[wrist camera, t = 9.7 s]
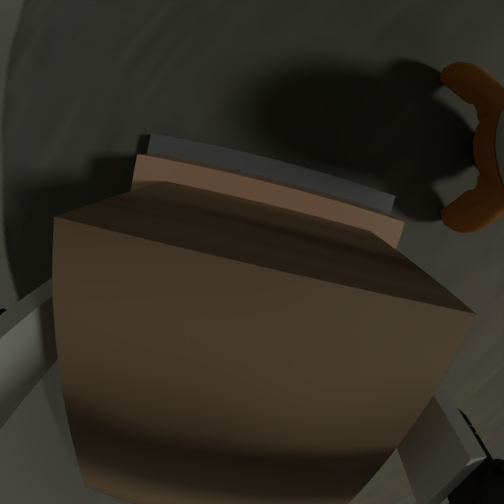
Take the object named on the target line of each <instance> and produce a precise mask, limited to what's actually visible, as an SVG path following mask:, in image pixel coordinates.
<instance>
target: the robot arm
mask: <svg viewBox="0 0 504 504" xmlns="http://www.w3.org/2000/svg"><path fill="white" fill-rule="evenodd" d="M57 359H58V357H57V348H56V337H55V325H54V310H53V281H52V278H51V279H49V280H48V281H47V282H45V283H44V284H42V285H41V286H39V287H38V288H37V289H35V290H34V291H32V292H31V293H30V294H28V295H27V296H25V297H24V298H23V299H21V300H20V301H18V302H17V303H16V304H15V305H13V306H12V307H10V308H9V309H8V310H6V309H1V310H0V429H1V428H2V426H3V425H4V424H5V423H6V421H7V420H8V419H9V417H10V416H11V415H12V414H13V412H14V411H15V410H16V409H17V407H18V406H19V405H20V403H21V402H22V401H23V400H24V398H25V397H26V396H27V395H28V393H29V392H30V391H31V390H32V389H33V387H34V386H35V385H36V384H37V383H38V381H39V380H40V379H41V378H42V377H43V375H44V374H45V373H46V372H47V371H48V370H49V368H50V367H51V366H52V365H53V364H54V362H55V361H56V360H57ZM476 433H477V432H476V431H475V429H474V427H472V424H471V423H470V421H469V420H468V418H467V416H466V415H465V414H464V413H463V412H461V411H460V410H459V409H458V408H457V407H456V405H455V404H454V402H453V401H452V399H451V398H450V396H449V395H448V393H447V392H446V390H445V389H444V387H443V386H442V384H441V383H440V385H439V386H438V388H437V389H436V391H435V393H434V394H433V396H432V398H431V399H430V401H429V402H428V404H427V405H426V407H425V408H424V410H423V411H422V413H421V414H420V416H419V417H418V419H417V420H416V422H415V423H414V425H413V426H412V427H411V429H410V430H409V432H408V433H407V434H406V436H405V437H404V438H403V440H402V441H401V442H400V444H399V445H398V446H397V449H398V452H399V455H400V457H401V460H402V463H403V465H404V468H405V471H406V473H407V476H408V479H409V482H410V484H411V487H412V490H413V493H414V496H415V498H416V501H417V504H440V503H441V502H442V501H443V500H444V499H445V498H446V497H448V500H449V502H450V503H449V504H504V460H502V459H494V460H493V459H492V457H491V455H490V454H489V452H488V450H487V449H486V447H485V445H484V444H483V442H482V440H481V439H480V437H479V436H478V434H476Z"/></svg>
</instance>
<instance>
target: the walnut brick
mask: <svg viewBox="0 0 504 504" xmlns="http://www.w3.org/2000/svg"><path fill="white" fill-rule="evenodd" d="M52 281H53V310H54V325H55V337H56V348H57V357H58V365H59V372H60V379H61V385H62V392H63V397H64V403H65V408H66V413H67V418H68V423H69V427H70V432H71V436H72V440H73V444H74V448H75V452H76V456H77V459H78V463H79V466H80V470H81V473H82V477H83V480H84V483H85V486H86V487H88V488H90V489H93V490H95V491H98V492H101V493H103V494H106V495H109V496H112V497H114V498H117V499H120V500H123V501H126V502H129V503H132V504H348V503H349V502H350V501H351V500H352V499H353V498H354V497H355V496H356V495H357V494H358V493H359V492H360V491H361V490H362V488H363V487H364V486H365V485H366V484H367V483H368V482H369V481H370V479H371V478H372V477H373V476H374V475H375V474H376V472H377V471H378V470H379V469H380V468H381V467H382V465H383V464H384V463H385V462H386V460H387V459H388V458H389V457H390V455H391V454H392V453H393V452H394V450H395V449H396V448H397V446H398V445H399V444H400V442H401V441H402V440H403V438H404V437H405V436H406V434H407V433H408V432H409V430H410V429H411V427H412V426H413V425H414V423H415V422H416V420H417V419H418V417H419V416H420V414H421V413H422V411H423V410H424V408H425V407H426V405H427V404H428V402H429V401H430V399H431V398H432V396H433V394H434V393H435V391H436V389H437V388H438V386H439V385H440V383H441V381H442V379H443V378H444V376H445V374H446V373H447V371H448V369H449V367H450V365H451V364H452V362H453V360H454V358H455V356H456V354H457V353H458V351H459V349H460V347H461V345H462V343H463V341H464V339H465V337H466V335H467V333H468V331H469V329H470V327H471V325H472V322H473V320H474V318H475V316H476V313H474V312H473V311H472V310H471V309H470V308H469V307H467V306H466V305H465V304H464V303H463V302H462V301H460V300H459V299H458V298H457V297H456V296H454V295H453V294H452V293H451V292H449V291H448V290H447V289H446V288H445V287H443V286H442V285H441V284H440V283H438V282H437V281H436V280H435V279H433V278H432V277H431V276H430V275H428V274H427V273H426V272H425V271H423V270H422V269H421V268H419V267H418V266H417V265H416V264H414V263H413V262H412V261H410V260H409V259H408V258H406V257H405V256H404V255H402V254H401V253H400V252H398V251H397V250H396V249H394V248H393V247H392V246H390V245H389V244H388V243H386V242H385V241H384V240H382V239H381V238H380V237H378V236H377V235H375V234H374V233H373V232H371V231H369V230H365V229H362V228H358V227H354V226H351V225H347V224H344V223H340V222H336V221H332V220H329V219H325V218H321V217H317V216H314V215H310V214H306V213H302V212H298V211H294V210H290V209H286V208H282V207H278V206H274V205H270V204H266V203H262V202H258V201H253V200H249V199H245V198H241V197H236V196H232V195H228V194H223V193H219V192H214V191H210V190H205V189H201V188H196V187H191V186H187V185H182V184H177V183H172V182H167V181H164V182H160V183H157V184H153V185H150V186H146V187H143V188H140V189H136V190H133V191H130V192H126V193H123V194H120V195H116V196H113V197H110V198H107V199H104V200H101V201H98V202H95V203H92V204H89V205H86V206H83V207H80V208H77V209H74V210H71V211H68V212H65V213H63V214H60V215H57V216H54V229H53V257H52Z"/></svg>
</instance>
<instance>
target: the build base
mask: <svg viewBox="0 0 504 504" xmlns="http://www.w3.org/2000/svg"><path fill="white" fill-rule="evenodd" d="M164 181H167V182H172V183H177V184H182V185H187V186H191V187H196V188H201V189H205V190H210V191H214V192H219V193H223V194H228V195H232V196H236V197H241V198H245V199H249V200H253V201H258V202H262V203H266V204H270V205H274V206H278V207H282V208H286V209H290V210H294V211H298V212H302V213H306V214H310V215H314V216H317V217H321V218H325V219H329V220H332V221H336V222H340V223H344V224H347V225H351V226H354V227H358V228H362V229H365V230H369V231H371V232H373V233H374V234H375V235H377V236H378V237H380V238H381V239H382V240H384V241H385V242H386V243H388V244H389V245H390V246H392V247H393V248H394V249H396V248H397V245H398V242H399V239H400V236H401V233H402V230H403V226H404V223H405V222H403V221H401V220H399V219H397V218H395V217H393V216H391V215H390V213H391V210H392V207H393V203H394V200H395V196H394V195H391V194H388V193H385V192H382V191H379V190H376V189H373V188H370V187H367V186H364V185H361V184H358V183H355V182H352V181H349V180H345V179H342V178H339V177H336V176H332V175H329V174H325V173H322V172H319V171H315V170H312V169H308V168H305V167H301V166H297V165H294V164H290V163H286V162H282V161H278V160H275V159H271V158H267V157H263V156H259V155H255V154H250V153H246V152H242V151H238V150H233V149H229V148H224V147H220V146H215V145H210V144H206V143H201V142H196V141H191V140H186V139H180V138H175V137H169V136H164V135H158V134H152V133H151V136H150V141H149V145H148V150H147V154H137V159H136V164H135V169H134V175H133V180H132V186H131V191H133V190H136V189H140V188H143V187H146V186H150V185H153V184H157V183H160V182H164Z"/></svg>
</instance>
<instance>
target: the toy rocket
mask: <svg viewBox="0 0 504 504" xmlns="http://www.w3.org/2000/svg"><path fill="white" fill-rule="evenodd" d="M440 82H441V83H442V84H444V85H445V86H447V87H448V88H449V89H451V90H452V91H453V92H454V93H455V94H457V95H458V96H459V97H460V98H461V99H462V100H464V101H465V102H467V103H469V104H473V105H474V106H475V108H476V111H477V118H478V120H479V122H480V123H479V124H478V126H477V128H476V131H475V132H474V133H473V135H472V137H471V139H470V144H469V152H470V157H471V160H472V162H473V164H474V165H475V167H476V168H477V169H478V171H479V173H480V174H479V176H478V180H477V185H476V187H475V189H474V190H468V191H466V192H464V193H463V194H462V195H461V196H460V197H458V198H457V199H456V200H455V201H453V202H452V203H450V204H449V205H448V206H446V207H445V208H443V209H442V210H441V214H440V215H441V218H442V220H443V222H444V224H445V225H446V226H447V227H449V228H451V229H452V230H454V231H457V232H461V233H468V232H473V231H477V230H480V229H482V228H484V227H486V226H488V225H489V224H491V223H492V222H494V221H495V220H496V219H498V218H499V217H500V216H501V215H502V214H503V213H504V88H503V87H502V86H501V85H500V83H499V82H498V81H497V80H496V79H495V78H494V77H492V76H491V75H490V74H489V73H488V72H486V71H485V70H483V69H481V68H480V67H478V66H476V65H473V64H470V63H464V62H457V63H452V64H450V65H449V66H447V67H446V68H444V69H443V71H442V73H441V75H440Z"/></svg>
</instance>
